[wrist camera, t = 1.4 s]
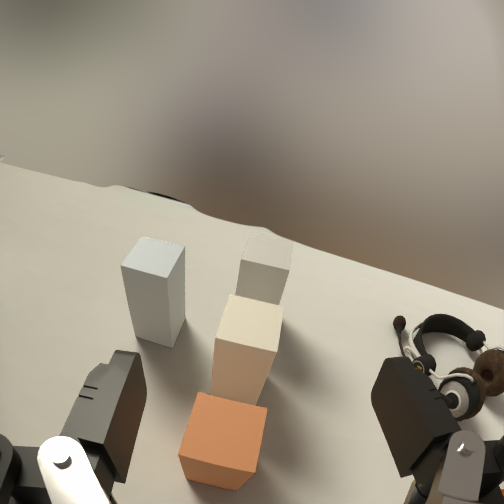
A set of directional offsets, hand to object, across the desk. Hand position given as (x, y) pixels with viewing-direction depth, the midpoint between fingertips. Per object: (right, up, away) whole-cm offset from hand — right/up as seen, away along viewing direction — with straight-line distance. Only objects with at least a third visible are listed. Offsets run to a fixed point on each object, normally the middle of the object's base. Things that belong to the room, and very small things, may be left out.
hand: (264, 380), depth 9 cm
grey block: (0, -5, +32) cm, 32 cm away
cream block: (-2, -11, +24) cm, 27 cm away
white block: (-12, -5, +29) cm, 31 cm away
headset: (+28, -14, +28) cm, 42 cm away
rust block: (-4, -17, +16) cm, 24 cm away
